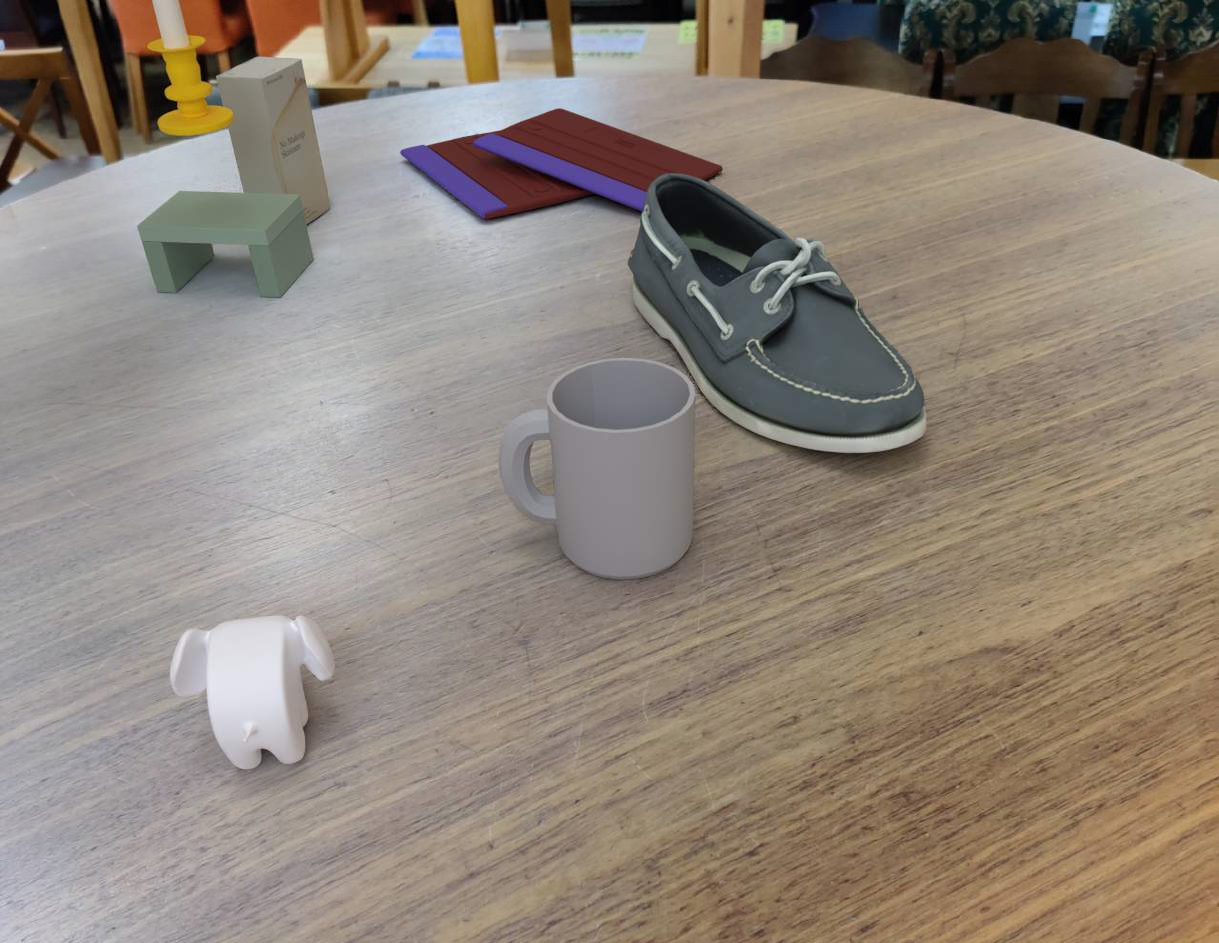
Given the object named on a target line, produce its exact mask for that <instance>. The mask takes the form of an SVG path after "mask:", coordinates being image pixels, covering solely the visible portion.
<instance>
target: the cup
mask: <svg viewBox="0 0 1219 943" xmlns="http://www.w3.org/2000/svg"><path fill="white" fill-rule="evenodd" d="M546 403H547V407H538V408H534V409H531V410H528V411H525V412H523V413H520V414H519V415H518V416H517V417H515V418H514V420H512V422H510V423H509V424H508V425H506V428H505V430H504V431H503V434H502V436H501V438H500V441H499V447H498V448H499V449H498V456H497V459H498V460H497V461H498V468H499V476H500V480H501V483H502V485H503V488H504V490H505V492H506V495H507V497H508V498H509V500H510V502H511V503H512V505H513V506H514V507H515V508H516V510H517V511H518V512H520V513H521V514H522V515H523V516H524V517H526V518H528V519H529V520H530V521H534V522H537V523H539V524H544V525H555V526H556V530H557V538H558V545H559V547H560V549H561V551H562V554H564V556H565V557H567V559H568V560H569V561H570V562H571V563H572V564H573V565H574V566H576V567H577V568H578V569H580V570H582V571H583V572H586V573H588V574H590V575H592V576H596V577H599V578H602V579H610V580H611V579H612V580H619V581H620V580H621V581H625V580H639V579H641V578H642V579H644V578H647V577H651V576H655V575H657V574H659V573H662V572H664V571H667V570H668V569H670V568H671V567H673V566H674V565H675V564H676V563H678V562H679V561H680V560H681V559H682V558H683V556H684V555H685V554H686V552H687V551H688V549H690V546H691V543H692V539H693V533H694V532H693V531H694V517H695V516H694V515H695V514H694V510H695V508H694V507H695V504H694V503H695V455H696V454H695V452H696V450H695V449H696V448H695V446H696V445H695V444H696V441H695V440H696V390H695V385H694V383H693V382H692V381H691V380H690V378H689V377H688V375H686V374H685V373H684V372H682V371H680V370H679V369H677V368H676V367H674V366H671V365H668V364H665V363H663V362H661V361H656V360H651V359H645V358H636V357H635V358H634V357H614V358H604V359H599V360H594V361H593V360H592V361H589V362H585V363H583V364H579V365H577V366H574V367H572V368H570V369H569V370H566V371H565V372H563V373H561V374H560V375H559V376H557V378H555V379H554V380H553V382H551V384H550V386H549V388H548V391H546ZM538 441H549V444H550V453H551V455H550V456H551V468H552V480H553V492H554V493H550V492H546V491H543V490H541V489H539V488H538V487H537V486H536V484H535V483H534V480H533V476H532V473H531V461H530V460H531V452H532V448H533V446H534V443H535V442H538Z"/></svg>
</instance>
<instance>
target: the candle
mask: <svg viewBox="0 0 1219 943" xmlns="http://www.w3.org/2000/svg"><path fill="white" fill-rule="evenodd" d="M151 2H152V7H153V10H154V14H155V18H156V22H157V25H158V30H159V33H160V36H161V37H160V38H158V39H154V40H153V41H150V42H149V43H148V44H147V45H146V47H147V49H148V50H150V51H153V52H157V53H160V54H161V55H162V56H161V57H162V58H163V61H164V62H165V64H166V65H165V71H166V74H167V76H168V78H169V81H170V83H171V85H169V86H167V87H166V88H165V89H164V96H165V97H166V99H167V100H170V101H174V102H177V105H176V107H177V109H174V110H172V111H169V112H166V113H165V114H163V115H161V116H160V117H158V119H157V126H158V129H159V130H160V132H162V133H164V134H166V135H169V136H179V137H187V136H200V135H206V134H211V133H214V132H218V131H221V130H224V129H226V128H228V126H229V125H231V124H232V123H233V121H234V115H233V112H232V111H231V110H230V109H228V108H226V107H223V106H221V105H208V102H207V100H206V98H207V97H209V96H211V94H213V85H212V84H211V83H210V82H206V81H202V76H201V66H200V64H199V62H198V60H197V51H196V49H197V48H199V47H200V46H203V45H204V44H205V43H206V42H207V39H206V38H205V37H203V36H201V35H200V36H199V35H189V34H188V32H187V28H186V24H185V20H184V16H183V12H182V9H181V3H180V1H179V0H151Z"/></svg>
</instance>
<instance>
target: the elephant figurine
mask: <svg viewBox="0 0 1219 943" xmlns="http://www.w3.org/2000/svg"><path fill="white" fill-rule="evenodd" d="M335 662H336V661H335V657H334V654H333V651H332V648H331V646H330V643H329V641H328V639H327V636H326V634H325V633H324V631H323V629H322V628H321V626H319V624H318V623H317V622H315V621H314V620H313V619H311V618H310V617H308V616H305V615H298V616H297V615H296V617H295V619H292V618H289V617H288V616H286V615H281V614H275V615H265V616H257V617H249V618H238V619H232V620H227V621H226V620H225V621H222V622H220V623H219V624H218V625H216V626H215V627H213V628H210V629H207V630H205V629H199V628H196V627H195V628H194V627H191V628H188V629H187V630H186V631H184V632H183V634H182V635H181V636H180V638H179V640H178V642H177V645H176V647H175V650H174V652H173V655H172V659H171V662H170V667H169V682H170V687H171V688H172V691H173V692H174V693H175V695H176V696H178V697H181V698H188V697H195V696H198V695H200V694H201V693H203V692H204V691H205V690H206V702H207V711H208V717H209V722H210V726H211V729H212V732H213V735H214V737H215V740H216V742H217V744H218V746H219V747H220V749H221V750H222V752H223V753H224V754H225V756H226V757H227V759H228V760H229V762H231V764H233V765H234V766H235V767H236V768H238V769H240V770H247V771H248V770H253V769H255V768H257V767H258V766H259V765H260V764H261V762H262V758H263V756H262V749H264V750H267V751H269V752H270V753H271V754H273V755H274V756H275V757H276V759H277V760H278V761H279V762H280V763H281V764H284V765H292V764H295V763H297V762H300V761H301V760H302V759H303V758H304V756H305V753H306V736H305V731H304V727H305V726H306V725H307V723H308V721H309V710H308V709H309V708H308V704H307V699H306V696H305V695H306V694H305V691H304V685H303V679H302V670H301V667H302V666H303V665H305V667H306V669H308V671H309V672H310V673H311V674H313V675H314V676H315V677H316V678H317V679H318V680H319V681H322V682H323V681H326V680H330V679H332V678H333V676H334V675H335V669H336V663H335Z"/></svg>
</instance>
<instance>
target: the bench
mask: <svg viewBox="0 0 1219 943" xmlns="http://www.w3.org/2000/svg"><path fill="white" fill-rule="evenodd" d="M307 225H308V224H307ZM307 225H306V220H305V215H304V210H303V206H302V201H301V196H300V195H299V194H266V193H244V192H232V191H230V192H228V191H196V190H179V191H177V192H176V193H175V194H174V195H172V196H171V197H169V199H168V200H166V201H165V202H164V203H163V204H162V205H160V206H159V207H158V208H157V209H156V210H154V211H153V212H152V213H150V214H149V215H148V216H147V217H146V218H144V220H141V222H140V223H138V224H137V225H136V227H137V231H138V234H139V237H140V241H141V244H142V247H143V250H144V253H145V257H146V260H147V263H148V266H149V269H150V270H149V271H150V273H151V276H152V280H153V282H154V283H153V284H154V286H155V289H156V292H157V293H169V294H170V293H171V294H172V293H173V294H177V293H178V292H179V291H180V290H181V289H182V288H183V287H184V286H185V285H186V284H187V283H188V282H189V281H190V280H191V279H192V278H193V277H194V276H196V274H198V272H199V271H200V270H201V269H203V267H205V266H206V264H208V263H209V262H210V261H211V260H212V259H213V258H214V257H215V255H216V254H215V250H214V247H213V245H233V246H234V245H236V246H237V245H239V246H248V247H247V248H248V250H249V255H250V257H251V263H252V266H253V271H254V275H255V279H256V283H257V287H258V292H259V295H260V297H261V298H282V296H283V295H284V294H285V293H286V292H287V291H288V290H289V288H290V287H291V286H292V285H293V284H294V283H295V281H296V280H297V279H299V277H300V276H301V275H302V274H303V273H304V271H305V270H306V269H307V268H308V266H309V265H311V263H312V262H313V261H314V253H313V249H312V245H311V244H312V243H311V240H310V239H311V238H310V234H309V230H308V226H307Z"/></svg>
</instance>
